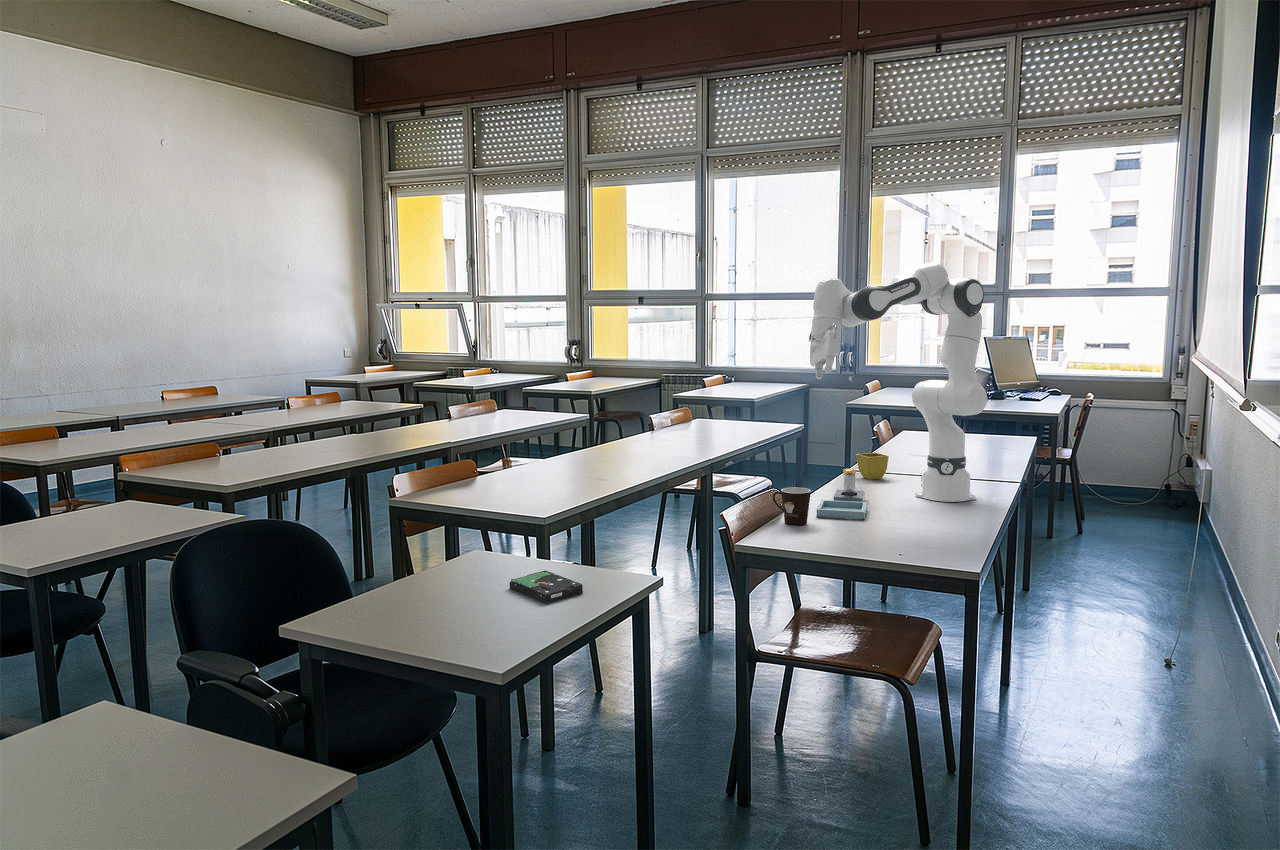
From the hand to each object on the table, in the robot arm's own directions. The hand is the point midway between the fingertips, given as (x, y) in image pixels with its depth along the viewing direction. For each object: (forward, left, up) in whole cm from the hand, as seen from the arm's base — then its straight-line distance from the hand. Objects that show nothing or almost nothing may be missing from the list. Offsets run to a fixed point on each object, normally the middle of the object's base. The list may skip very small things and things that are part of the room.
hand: (823, 375), depth 254 cm
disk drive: (+89, -52, -44) cm, 112 cm away
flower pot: (-65, +12, -43) cm, 79 cm away
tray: (-4, +6, -43) cm, 43 cm away
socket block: (-20, +7, -43) cm, 48 cm away
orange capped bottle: (-20, +7, -43) cm, 48 cm away
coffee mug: (+11, -7, -43) cm, 45 cm away
